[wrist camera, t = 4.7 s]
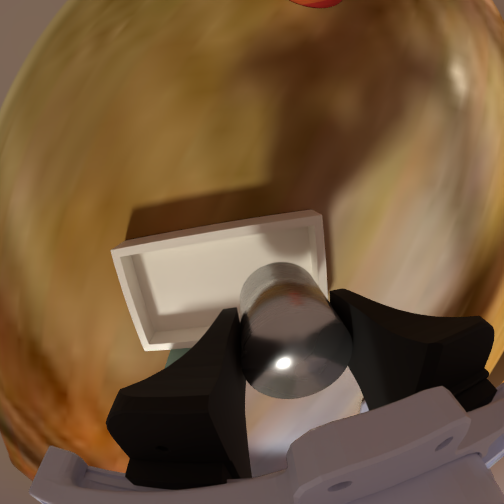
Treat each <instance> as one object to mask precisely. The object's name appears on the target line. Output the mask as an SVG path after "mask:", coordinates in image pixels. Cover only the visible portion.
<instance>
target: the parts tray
mask: <svg viewBox="0 0 504 504" xmlns="http://www.w3.org/2000/svg"><path fill="white" fill-rule="evenodd" d="M111 253H112V257H113V261H114V264H115V268H116V271H117V275H118V278H119V281H120V284H121V288H122V291H123V294H124V297H125V300H126V303H127V306H128V309H129V311H130V314H131V317H132V320H133V323H134V325H135V328H136V330H137V333H138V336H139V338H140V341H141V343H142V346H143V348H144V351H155V350H169V349H182V348H192V347H193V346H194V345H195V344H196V343H197V342H198V341H199V340H200V338H201V337H202V336H203V335H204V334H205V333H206V331H207V330H208V329H209V327H210V326H211V325H212V323H213V322H214V321H215V319H216V318H217V316H218V315H219V314H220V312H221V311H222V310H223V309H227V308H234V307H237V310H238V315H239V320H240V292H241V289H242V287H243V284H244V283H245V281H246V280H247V278H248V277H249V276H250V275H251V274H252V273H253V272H254V271H256V270H257V269H258V268H260V267H262V266H264V265H267V264H270V263H274V262H289V263H293V264H296V265H298V266H300V267H302V268H304V269H305V270H306V271H308V273H309V274H310V275H311V276H312V277H313V279H314V280H315V282H316V283H317V285H318V286H319V288H320V289H321V291H322V292H323V294H324V295H325V297H326V298H327V300H328V291H327V271H326V255H325V242H324V230H323V219H322V215H321V214H319V213H318V212H316V211H314V210H312V209H311V210H304V211H296V212H289V213H282V214H276V215H269V216H262V217H256V218H249V219H243V220H237V221H231V222H225V223H219V224H213V225H207V226H201V227H195V228H190V229H184V230H178V231H173V232H167V233H162V234H157V235H151V236H146V237H141V238H136V239H131V240H126V241H123V242H122V243H120V244H119V245H118V246H116V247H115V248H113V249H112V250H111Z"/></svg>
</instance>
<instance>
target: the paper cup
mask: <svg viewBox="0 0 504 504" xmlns="http://www.w3.org/2000/svg"><path fill="white" fill-rule="evenodd" d="M289 1H292V2H294V3H296V4H299V5H302V6H306V7H312V8H328V7H332V6H335V5H337V4H339V3H340V2H341V1H342V0H289Z"/></svg>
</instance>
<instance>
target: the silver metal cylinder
mask: <svg viewBox="0 0 504 504" xmlns="http://www.w3.org/2000/svg"><path fill="white" fill-rule="evenodd" d="M240 333H241V366H242V371H243V374H244V377H245V378H246V380H247V381H248V383H249V384H250V385H251V386H252V387H253V388H254V389H256V390H257V391H259V392H261V393H263V394H265V395H267V396H270V397H275V398H281V399H294V398H301V397H305V396H309V395H312V394H315V393H317V392H319V391H321V390H323V389H325V388H326V387H328V386H329V385H331V384H332V383H333V382H334V381H336V380H337V379H338V378H339V377H340V376H341V374H342V373H343V372H344V370H345V369H346V367H347V365H348V363H349V361H350V359H351V355H352V339H351V336H350V333H349V331H348V330H347V328H346V327H345V325H344V324H343V322H342V321H341V319H340V318H339V316H338V315H337V313H336V311H335V310H334V308H333V307H332V305H331V304H330V303H329V301H328V300H327V298H326V297H325V295H324V294H323V292H322V291H321V289H320V288H319V286H318V285H317V283H316V282H315V280H314V279H313V277H312V276H311V275H310V274H309V273H308V271H306V270H305V269H304V268H302V267H300V266H298V265H296V264H293V263H289V262H274V263H270V264H267V265H264V266H262V267H260V268H258V269H257V270H256V271H254V272H253V273H252V274H251V275H250V276H249V277H248V278H247V280H246V281H245V283H244V284H243V287H242V289H241V292H240Z"/></svg>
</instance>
